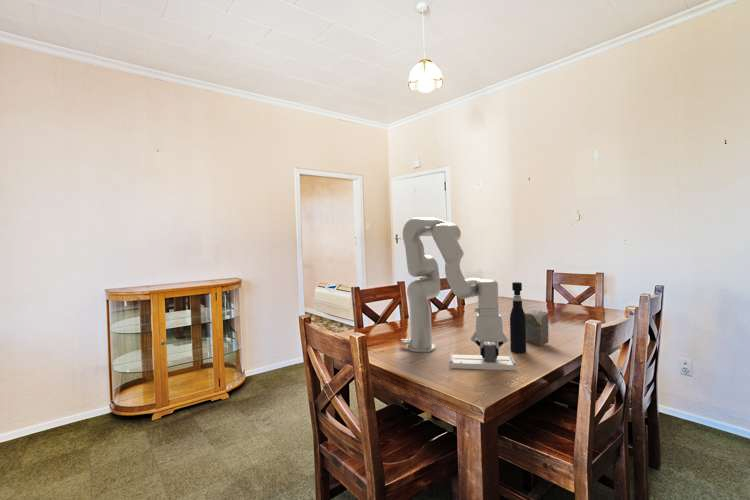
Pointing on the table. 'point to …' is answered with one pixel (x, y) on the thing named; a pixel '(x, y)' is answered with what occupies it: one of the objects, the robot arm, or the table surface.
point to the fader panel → (482, 362)
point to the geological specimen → (537, 326)
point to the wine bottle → (517, 322)
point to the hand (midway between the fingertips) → (489, 357)
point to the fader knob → (489, 352)
